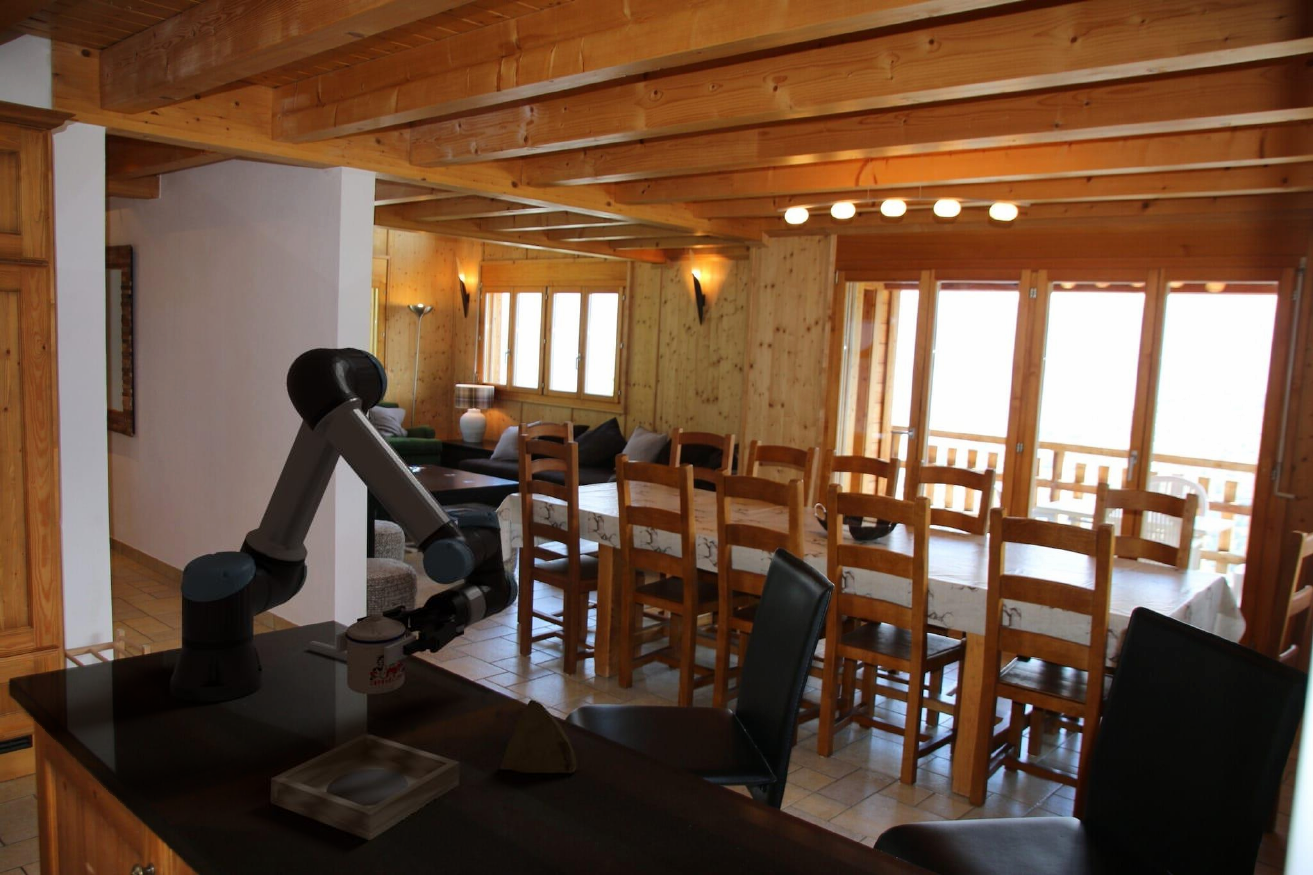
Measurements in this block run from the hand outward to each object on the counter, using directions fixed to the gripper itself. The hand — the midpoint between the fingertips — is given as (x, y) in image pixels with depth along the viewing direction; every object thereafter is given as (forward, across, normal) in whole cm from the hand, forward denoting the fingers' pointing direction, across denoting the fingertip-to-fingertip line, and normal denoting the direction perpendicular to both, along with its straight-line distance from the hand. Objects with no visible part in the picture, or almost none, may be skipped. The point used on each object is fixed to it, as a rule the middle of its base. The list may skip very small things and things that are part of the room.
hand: (361, 650), depth 144 cm
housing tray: (+10, -10, -16) cm, 21 cm away
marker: (-29, +32, -18) cm, 47 cm away
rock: (-10, -27, -17) cm, 33 cm away
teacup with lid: (-5, 0, -7) cm, 8 cm away
